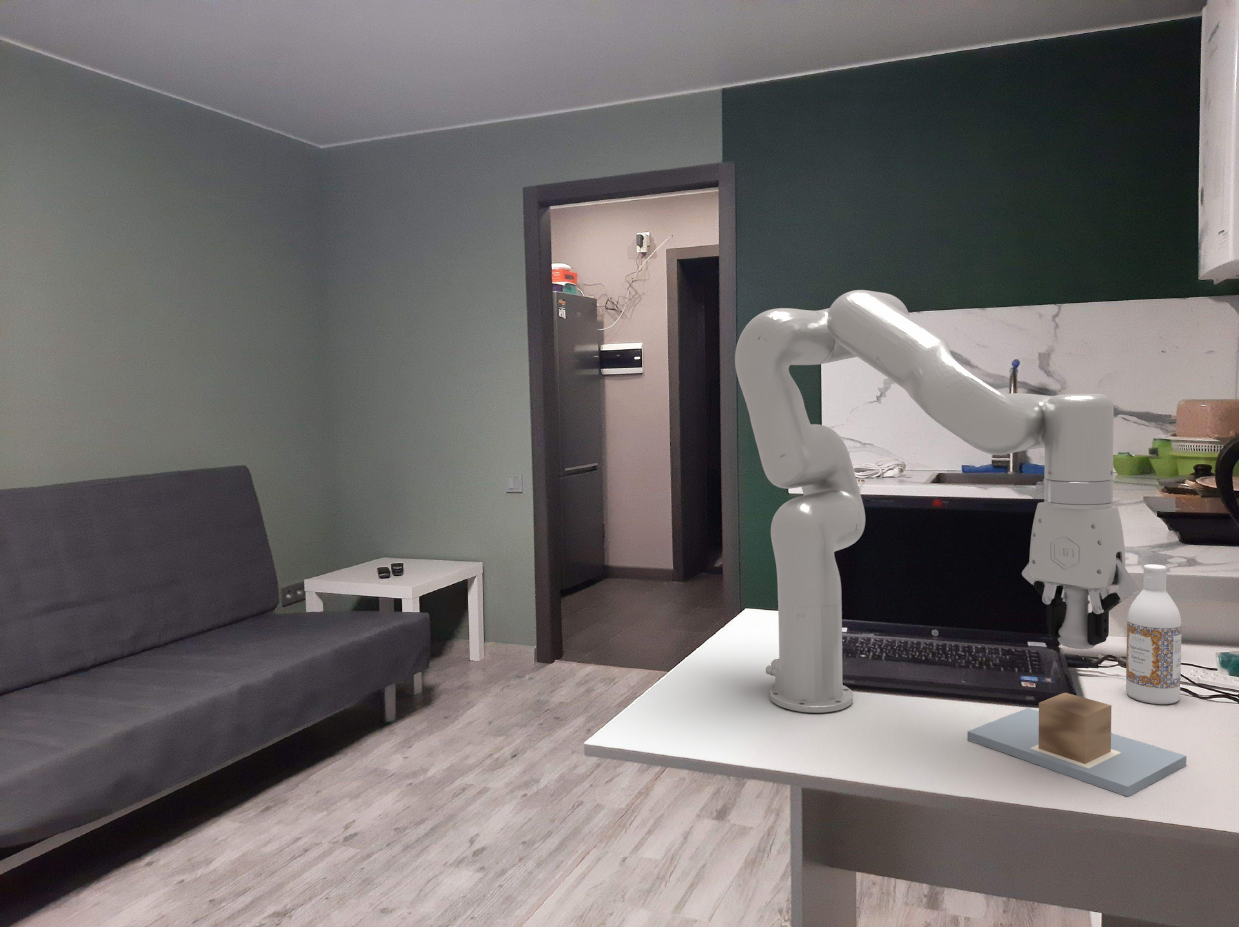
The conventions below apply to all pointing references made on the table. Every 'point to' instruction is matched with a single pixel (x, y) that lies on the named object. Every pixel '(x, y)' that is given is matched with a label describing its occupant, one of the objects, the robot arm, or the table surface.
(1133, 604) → the bath foam
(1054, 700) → the walnut cube
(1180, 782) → the table surface
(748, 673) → the table surface
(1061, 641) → the rook chess piece
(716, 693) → the table surface
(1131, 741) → the build board
